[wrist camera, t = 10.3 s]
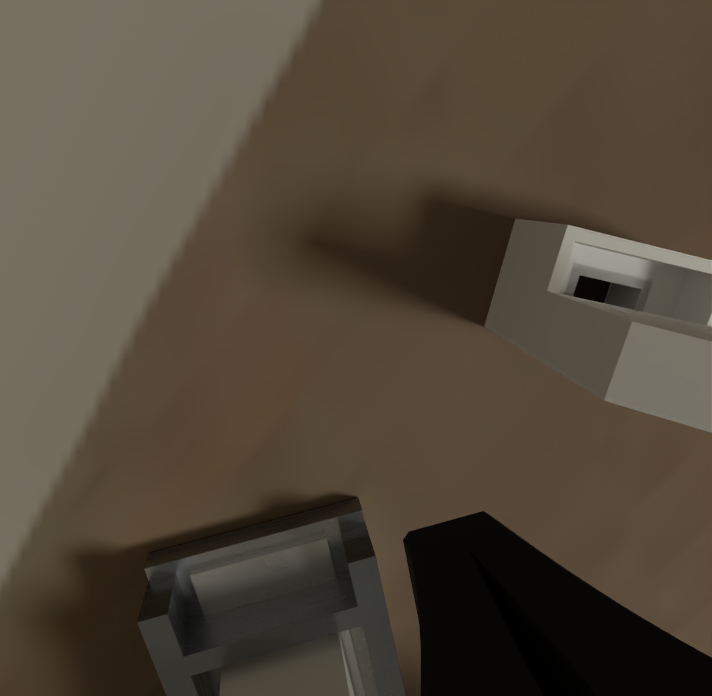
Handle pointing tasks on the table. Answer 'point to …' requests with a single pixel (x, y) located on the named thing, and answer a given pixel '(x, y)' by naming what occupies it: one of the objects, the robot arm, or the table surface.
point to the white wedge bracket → (611, 317)
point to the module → (292, 672)
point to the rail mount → (269, 600)
